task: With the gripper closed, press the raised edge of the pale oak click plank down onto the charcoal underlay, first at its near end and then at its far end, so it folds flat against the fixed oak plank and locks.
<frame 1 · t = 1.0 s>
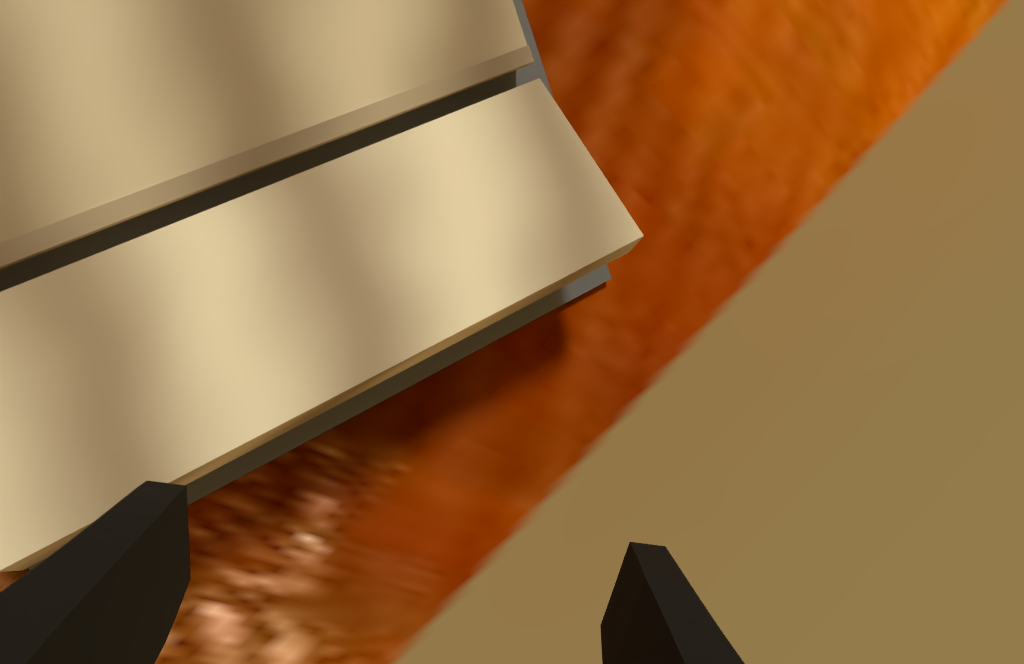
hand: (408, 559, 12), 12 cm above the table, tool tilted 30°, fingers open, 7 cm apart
click plank: (320, 286, 19), point 3 cm above the table, hinge at 30.0°
fixed plank: (201, 66, 19), resting on underlay mat
underlay mat: (252, 171, 20), on the table
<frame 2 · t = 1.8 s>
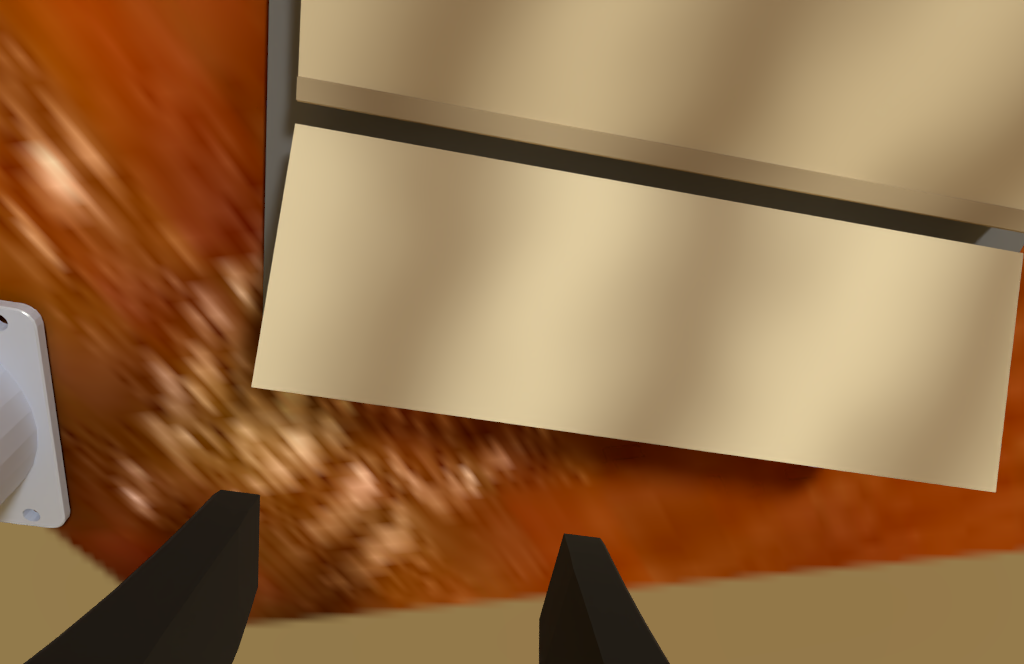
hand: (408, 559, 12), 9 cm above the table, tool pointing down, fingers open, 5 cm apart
click plank: (653, 317, 17), point 3 cm above the table, hinge at 30.0°
fixed plank: (705, 30, 17), resting on underlay mat
underlay mat: (669, 155, 18), on the table
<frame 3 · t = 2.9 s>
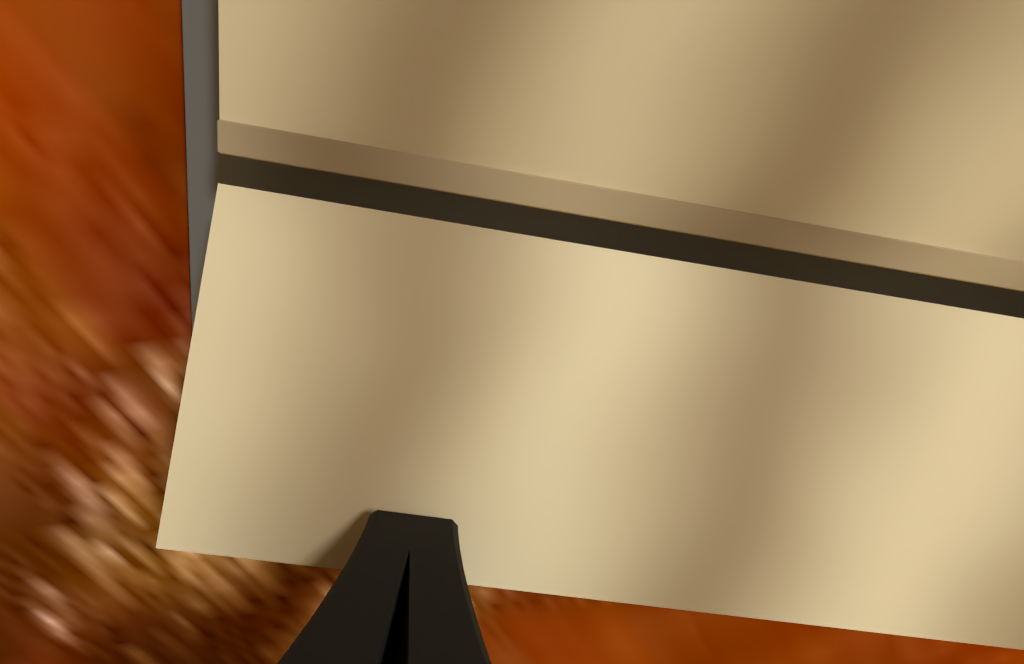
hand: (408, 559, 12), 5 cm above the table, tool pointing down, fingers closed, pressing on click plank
click plank: (702, 434, 13), point 3 cm above the table, hinge at 30.0°, touching gripper
fixed plank: (774, 54, 12), resting on underlay mat
underlay mat: (720, 216, 14), on the table
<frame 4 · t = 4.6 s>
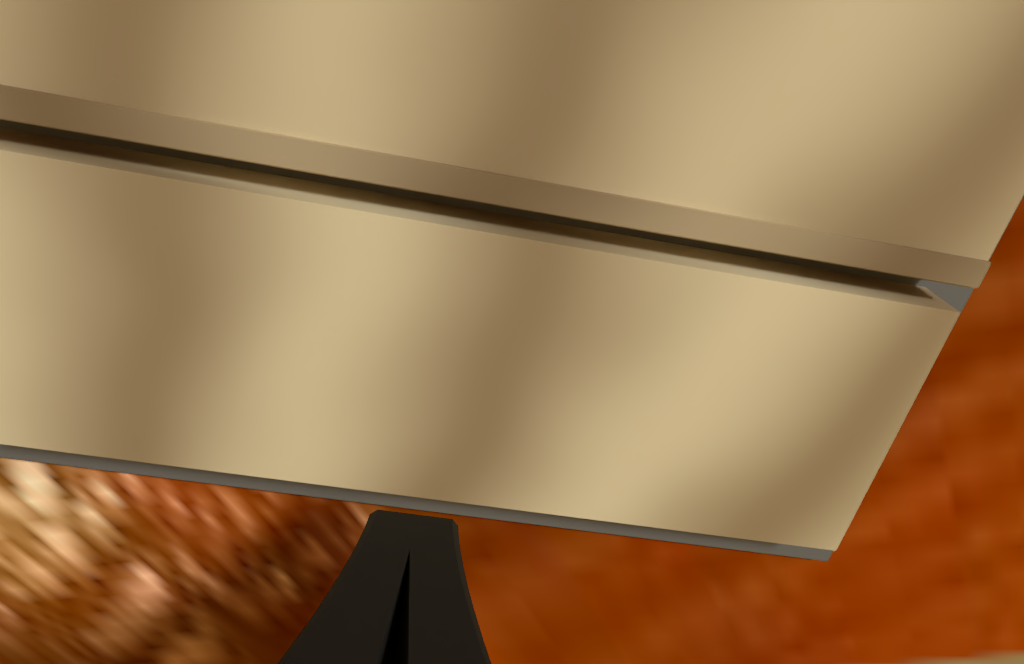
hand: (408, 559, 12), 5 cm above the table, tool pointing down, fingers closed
click plank: (459, 363, 14), point 1 cm above the table, hinge at 0.8°
fixed plank: (519, 8, 12), resting on underlay mat
underlay mat: (489, 179, 13), on the table
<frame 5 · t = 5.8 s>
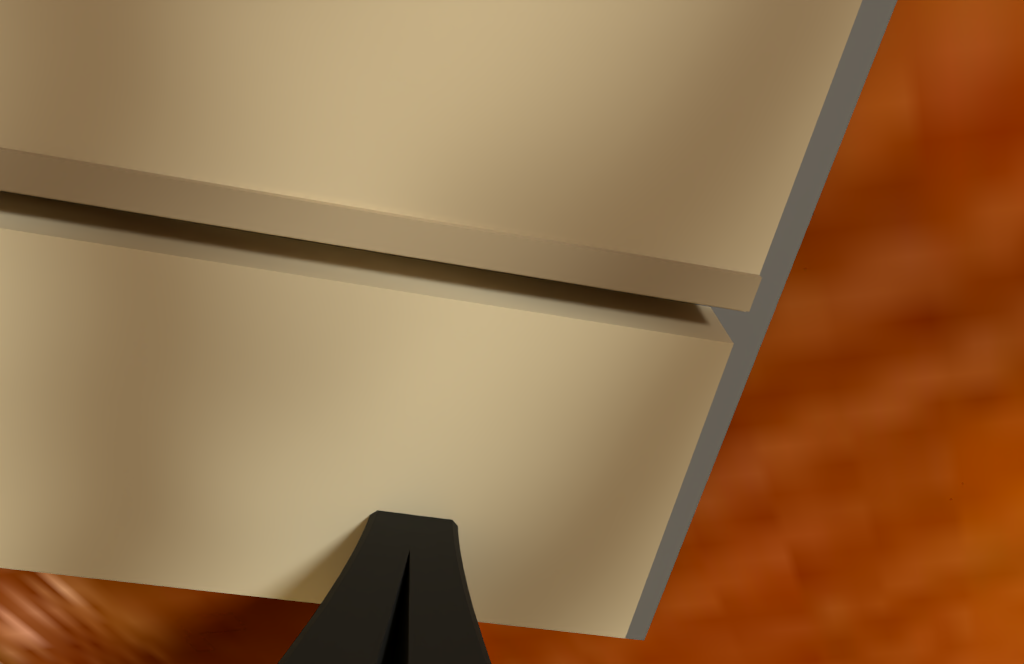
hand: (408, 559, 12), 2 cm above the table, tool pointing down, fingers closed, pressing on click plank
click plank: (98, 407, 11), point 1 cm above the table, hinge at 0.6°, touching gripper
underlay mat: (110, 167, 10), on the table
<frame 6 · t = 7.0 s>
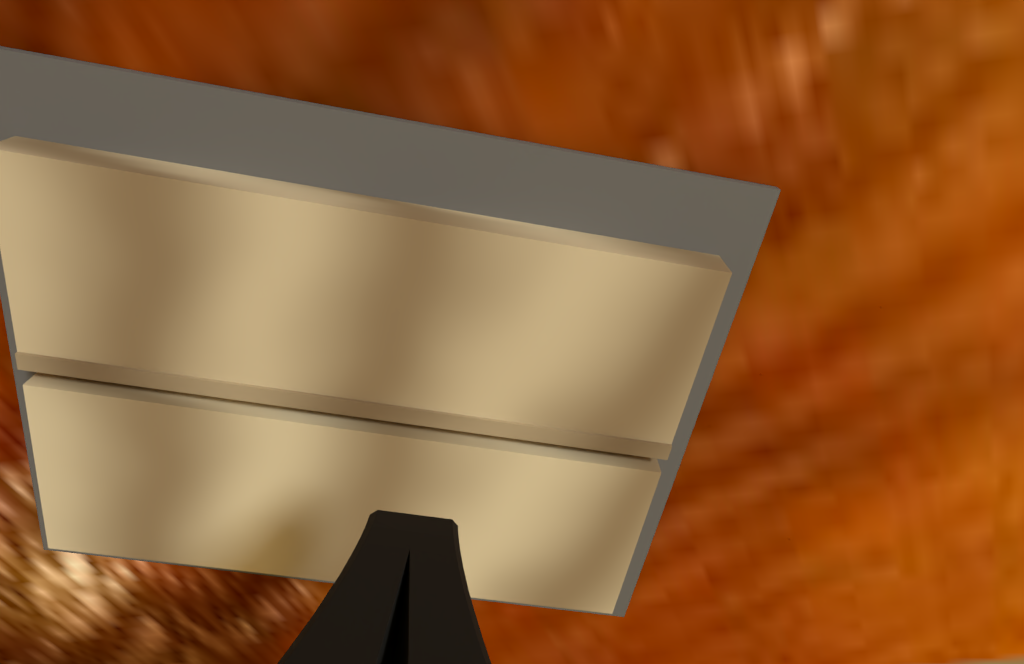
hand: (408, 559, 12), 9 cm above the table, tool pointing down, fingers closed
click plank: (351, 498, 22), point 1 cm above the table, hinge at 0.6°
fixed plank: (375, 298, 20), resting on underlay mat
underlay mat: (366, 387, 21), on the table
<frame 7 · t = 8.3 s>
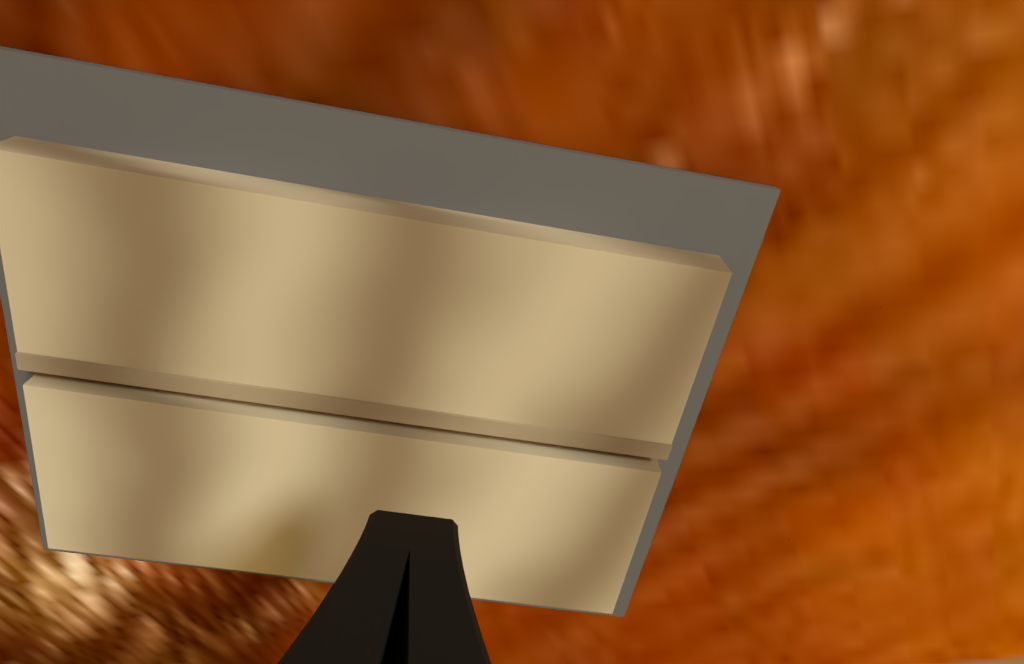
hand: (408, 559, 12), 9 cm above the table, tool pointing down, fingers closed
click plank: (351, 498, 22), point 1 cm above the table, hinge at 0.6°
fixed plank: (375, 298, 20), resting on underlay mat
underlay mat: (366, 387, 21), on the table
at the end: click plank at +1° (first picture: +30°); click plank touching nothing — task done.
